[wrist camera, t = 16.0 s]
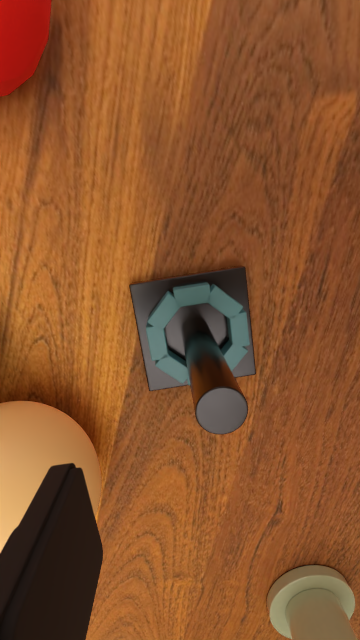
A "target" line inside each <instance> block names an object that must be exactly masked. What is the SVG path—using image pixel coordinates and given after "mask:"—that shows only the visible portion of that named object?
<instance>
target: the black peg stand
mask: <svg viewBox="0 0 360 640" xmlns="http://www.w3.org/2000/svg"><path fill="white" fill-rule="evenodd" d="M205 282H207V283H208V284H209V285H210V287H211V285H212V284H214V285H216V286H217V287H218V288H220V289H221V290H222V291H224V292H225V293H226V294H228V295H229V296H230V297H232V298H233V299H234V300H236V301H237V302H238V303H240V304H241V305H242V306H243V308H242V309H243V310H244V311H245V312H246V313H247V323H248V332H249V342H250V345H249V346H245V347H246V349H247V350H248V352H247V353H246V354H245V356H244V357H243V358H242V359H241V360H240V362H239V363H238V364H237V365H236V367H235V368H234V369H233V370H232V371H231V369H230V368H229V366H228V364H227V362H226V360H225V358H224V356H223V354H222V352H221V349H222V348H223V347H224V345H225V344H226V343H227V342H228V340H229V334H228V325H227V317H226V316H225V315H224V314H222V313H221V312H220V311H218V310H217V309H215V308H214V307H213V306H211V305H210V304H209V303H203V304H196V305H190V306H184V307H180V308H179V309H178V311H177V312H176V313H175V315H174V316H173V317H172V319H171V320H170V321H169V323H168V324H167V325H166V327H165V333H166V339H167V345H168V350H170V351H171V352H173V353H174V354H176V355H177V356H179V357H180V358H182V359H183V360H185V361H186V363H187V369H188V375H189V381H190V386H191V392H192V398H193V404H194V410H195V415H196V419H197V421H198V423H199V424H200V426H201V427H202V428H203V429H205V430H206V431H208V432H210V433H213V434H227V433H230V432H233V431H235V430H236V429H238V428H239V427H240V426H241V425H242V424H243V423H244V421H245V419H246V417H247V413H248V405H247V401H246V399H245V397H244V395H243V393H242V391H241V389H240V387H239V385H238V383H237V381H236V379H235V378H236V377H242V376H249V375H255V374H256V369H255V359H254V349H253V339H252V329H251V319H250V309H249V300H248V290H247V280H246V270H245V267H244V266H236V267H230V268H223V269H217V270H211V271H204V272H198V273H191V274H185V275H179V276H172V277H166V278H160V279H153V280H147V281H140V282H134V283H131V284H130V285H129V287H130V292H131V297H132V303H133V308H134V313H135V318H136V324H137V329H138V334H139V340H140V345H141V350H142V355H143V361H144V366H145V371H146V376H147V382H148V387H149V391H154V390H160V389H167V388H173V387H179V386H186V385H188V382H187V379H186V381H185V382H184V383H183V384H182V383H180V382H179V381H177V380H176V379H174V378H173V377H171V376H170V375H168V374H167V373H165V372H164V371H162V370H161V369H159V368H158V367H156V366H155V361H152V360H151V355H150V350H149V344H148V339H147V333H146V325H147V323H148V322H147V320H148V317H149V316H150V314H151V313H152V312H153V310H154V309H155V307H156V306H157V305H158V303H159V302H160V301H161V299H162V298H163V296H164V295H165V294H166V292H167V291H169V292H171V293H172V294H173V295H174V293H173V288H174V287H180V286H186V285H192V284H199V283H205Z"/></svg>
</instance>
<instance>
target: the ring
mask: <svg viewBox="0 0 360 640" xmlns="http://www.w3.org/2000/svg"><path fill="white" fill-rule="evenodd" d="M173 293H174V295H173V294H172V293H171V292H169V291H167V292H166V294H165V295H164V296H163V298H162V299H161V301H160V302H159V303H158V305H157V306H156V307H155V309H154V310H153V312H152V313H151V314H150V316H149V317H148V320H147V322H148V323H147V325H146V333H147V339H148V344H149V350H150V355H151V360H152V361H155V366H156V367H158V368H159V369H161V370H162V371H164V372H165V373H167V374H168V375H170V376H171V377H173V378H174V379H176V380H177V381H179V382H180V383H182V384H183V383H184V382H185V381H186V379H187V382H188V385H190V381H189V375H188V369H187V363H186V361H185V360H183V359H182V358H180V357H179V356H177V355H176V354H174V353H173V352H171V351H170V350H168V345H167V339H166V333H165V327H166V325H167V324H168V323H169V321H170V320H171V319H172V317H173V316H174V315H175V313H176V312H177V311H178V309H179V308H180V307H184V306H190V305H196V304H203V303H209V304H210V305H211V306H213V307H214V308H215V309H217V310H218V311H220V312H221V313H222V314H224V315H225V316H226V317H227V325H228V334H229V340H228V342H227V343H226V344H225V345H224V347H223V348H222V349H221V352H222V354H223V356H224V358H225V360H226V362H227V364H228V366H229V368H230V369H231V371H232V370H233V369H234V368H235V367H236V365H237V364H238V363H239V362H240V360H241V359H242V358H243V357H244V356H245V354H246V353H247V352H248V350H247V349H246V347H245V346H249V345H250V342H249V332H248V323H247V313H246V312H245V311H244V310H243V309H242V308H243V306H242V305H241V304H240V303H238V302H237V301H236V300H234V299H233V298H232V297H230V296H229V295H228V294H226V293H225V292H224V291H222V290H221V289H220V288H218V287H217V286H216V285H214V284H212V285H211V287H210V285H209V284H208V283H207V282H205V283H199V284H192V285H186V286H180V287H174V288H173Z"/></svg>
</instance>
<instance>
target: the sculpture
mask: <svg viewBox="0 0 360 640" xmlns="http://www.w3.org/2000/svg"><path fill="white" fill-rule="evenodd" d="M67 463H74V464H75V466H76V468H79V467H80V468H82V470H83V473H84V477H85V481H86V485H87V489H88V492H89V496H90V500H91V504H92V508H93V512H94V516H96V513H97V510H98V506H99V502H100V496H101V470H100V464H99V460H98V457H97V454H96V451H95V449H94V446H93V444H92V442H91V441H90V439H89V437H88V436H87V434H86V433H85V431H84V430H83V429H82V428H81V426H80V425H79V424H78V423H77V422H76V421H74V420H73V419H72V418H71V417H69V416H68V415H67V414H65V413H63V412H62V411H60V410H58V409H56V408H54V407H51V406H49V405H46V404H42V403H38V402H32V401H11V402H4V403H0V553H1V551H2V549H3V547H4V545H5V544H6V542H7V540H8V538H9V536H10V535H11V533H12V532H13V530H14V529H15V528H16V527H18V525H19V524H20V522H21V520H22V518H23V516H24V514H25V512H26V511H27V509H28V507H29V505H30V503H31V501H32V500H33V498H34V496H35V494H36V492H37V490H38V488H39V487H40V485H41V483H42V481H43V479H44V477H45V476H46V474H47V472H48V470H49V468H50V467H51V466H54V465H61V464H67Z"/></svg>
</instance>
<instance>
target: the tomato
mask: <svg viewBox="0 0 360 640" xmlns="http://www.w3.org/2000/svg"><path fill="white" fill-rule="evenodd" d="M50 11H51V0H0V97H1V96H6V95H9V94H10V93H12V92H13V91H14V90H15V89H16V88H18V87H19V86H20V85H21V84H23V83H24V82H25V81H26V80H27V79H29V78H30V77H31V76H32V75H33V74H34V72H35V70H36V67H37V65H38V63H39V60H40V58H41V55H42V53H43V51H44V48H45V46H46V44H47V41H48V37H49V24H50Z"/></svg>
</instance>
